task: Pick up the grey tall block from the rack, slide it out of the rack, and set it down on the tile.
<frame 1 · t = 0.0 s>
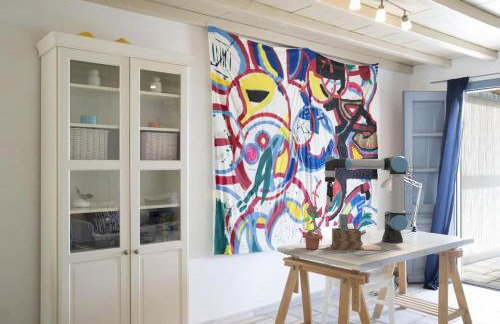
hand: (329, 205, 322), 28 cm above the table, tool pointing down, fingers open, 13 cm apart
grey tall block: (343, 243, 303), point 3 cm above the table, touching rack
decorative flower: (313, 248, 301), on the table
tile: (370, 248, 301), on the table
rack: (346, 248, 302), on the table
door handle: (352, 244, 321), on the table
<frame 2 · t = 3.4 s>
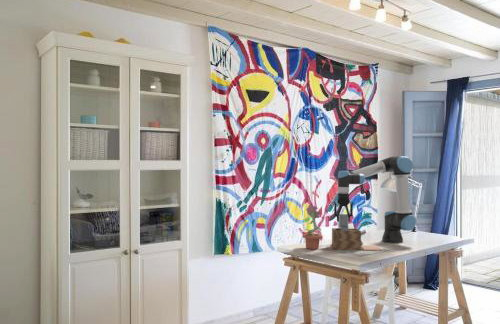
hand: (343, 226, 303), 15 cm above the table, tool pointing down, fingers closed on grey tall block, 5 cm apart
grey tall block: (343, 243, 303), point 3 cm above the table, touching gripper, rack
everything else where it was.
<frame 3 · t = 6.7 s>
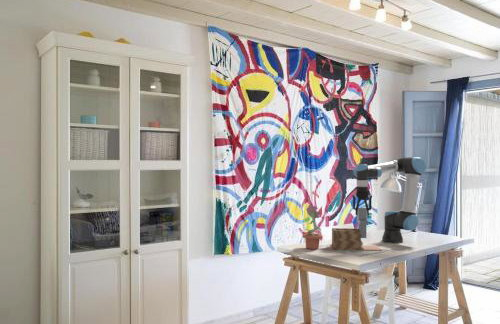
hand: (362, 219, 302), 20 cm above the table, tool pointing down, fingers closed on grey tall block, 5 cm apart
grey tall block: (362, 237, 302), point 8 cm above the table, touching gripper
everything else where it was.
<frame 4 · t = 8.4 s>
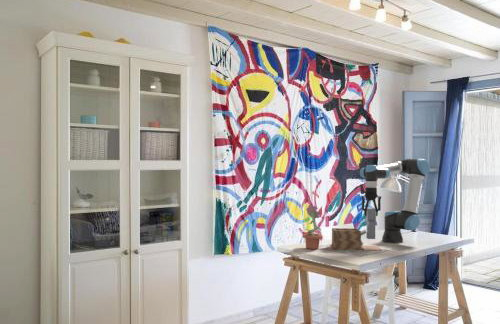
hand: (370, 220, 301), 19 cm above the table, tool pointing down, fingers closed on grey tall block, 5 cm apart
grey tall block: (370, 238, 301), point 7 cm above the table, touching gripper
everything else where it was.
when the fingers open (14 cm above the table, at t = 9.9 s): grey tall block stays where it is, resting on tile.
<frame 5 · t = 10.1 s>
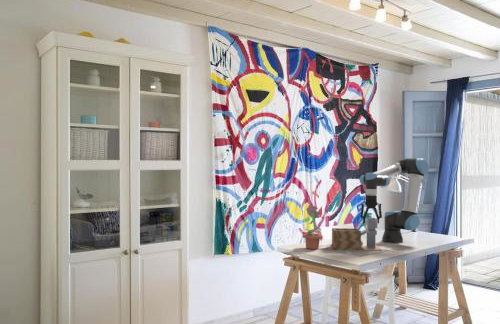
hand: (371, 228, 301), 14 cm above the table, tool pointing down, fingers open, 7 cm apart
grey tall block: (370, 247, 301), point 1 cm above the table, touching tile
everything else where it was.
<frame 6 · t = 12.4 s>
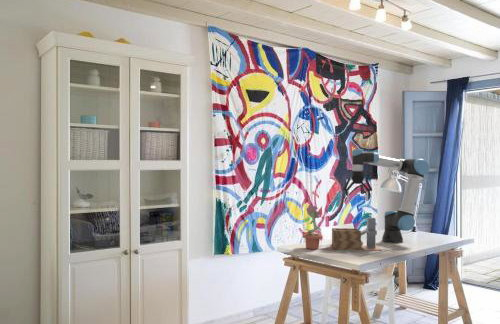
hand: (357, 200, 310), 33 cm above the table, tool pointing down, fingers open, 13 cm apart
nothing on the table moved.
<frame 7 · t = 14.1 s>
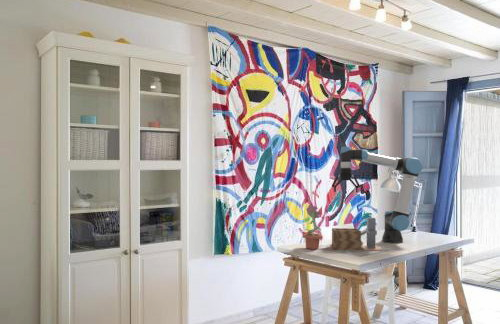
hand: (345, 196, 318), 35 cm above the table, tool pointing down, fingers open, 13 cm apart
nothing on the table moved.
at the end: grey tall block inside the target area on the tile (0.1 cm from its centre), point 0.8 cm above the tile's base; grey tall block touching tile; the gripper is holding nothing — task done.
